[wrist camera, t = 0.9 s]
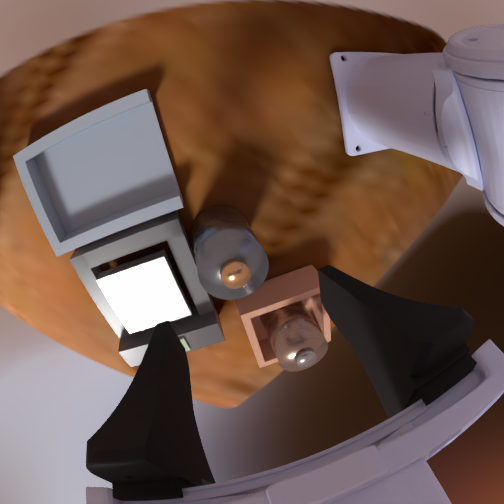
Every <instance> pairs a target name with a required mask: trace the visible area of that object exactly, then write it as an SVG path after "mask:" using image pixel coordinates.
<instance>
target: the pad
mask: <svg viewBox="0 0 504 504" xmlns="http://www.w3.org/2000/svg"><path fill="white" fill-rule="evenodd" d="M96 281H97V283H98V284H99V286H100V288H101V289H102V291H103V293H104V294H105V296H106V298H107V299H108V301H109V303H110V304H111V306H112V307H113V309H114V310H115V312H116V314H117V315H118V317H119V318H120V320H121V321H122V323H123V324H124V326H125V327H126V328H127V330H128V331H129V333H133V332H136V331H140V330H143V329H147V328H150V327H153V326H156V324H157V323H160V322H164V321H167V320H169V322H170V321H173V320H176V319H180V318H183V317H186V316H189V315H192V314H191V306H190V304H189V302H188V300H187V298H186V296H185V294H184V292H183V289H182V287H181V285H180V283H179V281H178V279H177V276H176V274H175V272H174V270H173V267H172V265H171V263H170V261H169V258H168V256H167V254H166V251H165V249H164V250H161V251H158V252H155V253H152V254H150V255H147V256H144V257H141V258H138V259H135V260H133V261H130V262H127V263H124V264H122V265H119V266H116V267H113V268H111V269H108V270H105V271H102V272H100V273H99V274H98V277H97V280H96Z"/></svg>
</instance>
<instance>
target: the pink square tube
mask: <svg viewBox="0 0 504 504" xmlns="http://www.w3.org/2000/svg"><path fill="white" fill-rule="evenodd" d="M235 300H236V303H237V306H238V309H239V312H240V315H241V318H242V321H243V324H244V326H245V329H246V332H247V335H248V337H249V340H250V343H251V346H252V348H253V351H254V354H255V356H256V359H257V362H258V364H259V367H260V368H261V367H264V366H267V365H270V364H273V363H275V362H278V359H277V357H276V355H275V352H274V350H273V348H272V345H271V343H270V341H269V338H268V336H267V334H266V331H265V329H264V327H263V324H262V322H261V319H260V315H262V314H265V313H267V312H270V311H273V310H276V309H279V308H281V307H284V306H287V305H290V304H292V303H295V302H298V301H300V300H302V302H303V304H304V305H305V307H306V308H307V310H308V312H309V313H310V315H311V316H312V318H313V319H314V321H315V323H316V324H317V326H318V327H319V329H320V331H321V332H322V334H323V335H324V337H325V339H326V340H327V342H329V341H331V335H330V334H331V333H330V317H329V315H328V314H327V312H326V310H325V308H324V306H323V304H322V303H321V298H320V287H319V277H318V271H317V270H316V269H315V268H314V266H313V265H312V264H311V265H308V266H306V267H303V268H300V269H297V270H294V271H292V272H289V273H286V274H283V275H280V276H277V277H275V278H272V279H269V280H266V281H264V282H263V283H262V285H261V286H260V287H259V288H258V289H257V290H256V291H254V292H253V293H251V294H250V295H248V296H245V297H243V298H239V299H235Z"/></svg>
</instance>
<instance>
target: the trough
mask: <svg viewBox="0 0 504 504" xmlns="http://www.w3.org/2000/svg"><path fill="white" fill-rule="evenodd" d="M13 158H14V161H15V164H16V167H17V170H18V172H19V175H20V178H21V180H22V183H23V186H24V188H25V191H26V193H27V195H28V198H29V200H30V203H31V205H32V207H33V210H34V212H35V214H36V216H37V218H38V221H39V223H40V225H41V227H42V229H43V231H44V233H45V235H46V237H47V239H48V241H49V243H50V245H51V247H52V249H53V251H54V252H55V254H56V256H57V257H58V256H60V255H62V254H65V253H67V252H69V251H71V250H74V249H76V248H79V247H81V246H83V245H86V244H88V243H91V242H93V241H95V240H98V239H100V238H103V237H105V236H108V235H110V234H113V233H115V232H118V231H121V230H123V229H126V228H128V227H131V226H134V225H136V224H139V223H142V222H144V221H147V220H150V219H153V218H155V217H158V216H161V215H164V214H167V213H169V212H172V211H175V210H178V209H181V208H184V206H183V197H182V194H181V191H180V188H179V185H178V182H177V179H176V176H175V173H174V170H173V167H172V164H171V161H170V158H169V155H168V151H167V148H166V145H165V142H164V139H163V135H162V132H161V129H160V125H159V122H158V119H157V115H156V112H155V108H154V105H153V102H152V98H151V94H150V91H149V90H147V89H144V90H141V91H139V92H136V93H133V94H131V95H128V96H126V97H123V98H121V99H118V100H116V101H113V102H111V103H109V104H106V105H104V106H102V107H100V108H98V109H95V110H93V111H91V112H89V113H87V114H85V115H83V116H81V117H79V118H77V119H75V120H73V121H71V122H69V123H67V124H65V125H63V126H62V127H60V128H58V129H56V130H54V131H53V132H51V133H49V134H47V135H46V136H44V137H42V138H41V139H39V140H37V141H36V142H34V143H32V144H31V145H29V146H28V147H26V148H25V149H23V150H22V151H20V152H19V153H17V154H16V155H14V156H13Z"/></svg>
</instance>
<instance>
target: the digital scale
mask: <svg viewBox="0 0 504 504" xmlns="http://www.w3.org/2000/svg"><path fill="white" fill-rule="evenodd" d="M164 241H167V242H168V244H169V247H170V249H171V252H172V254H173V256H174V259H175V261H176V263H177V266H178V268H179V270H180V273H181V275H182V277H183V279H184V282H185V284H186V286H187V288H188V291H189V293H190V295H191V297H192V299H193V301H194V305H191V314H192V315H189V316H186V317H183V318H180V319H176V320H173V321H170V324H171V326H172V327H173V329H174V331H175V332H176V334H177V336H178V338H179V339H180V341H181V343H182V344H183V346H184V348H185V351H186V352H189V351H192V350H195V349H199V348H202V347H205V346H209V345H212V344H215V343H218V342H221V341H225V338H224V334H223V330H222V326H221V322H220V318H219V315H218V312H217V310H216V308H215V305H214V303H213V301H212V298H211V296H210V294H209V293H208V292H206V291H205V290H204V288H203V287H202V286H201V284H200V281H199V278H198V272H197V265H196V259H195V255H194V253H193V250H192V248H191V245H190V242H189V240H188V237H187V234H186V232H185V229H184V226H183V224H182V221H181V218H180V215H179V213H178V211H175V212H172V213H169V214H166V215H163V216H161V217H158V218H155V219H152V220H149V221H147V222H144V223H141V224H139V225H136V226H133V227H131V228H128V229H125V230H123V231H120V232H118V233H115V234H112V235H110V236H107V237H105V238H102V239H100V240H97V241H95V242H92V243H90V244H88V245H85V246H83V247H80V248H78V249H76V250H75V251H74V253H73V254H72V256H71V258H70V262H71V263H72V265H73V267H74V269H75V270H76V272H77V274H78V276H79V277H80V279H81V281H82V282H83V284H84V286H85V287H86V289H87V291H88V292H89V294H90V295H91V297H92V299H93V300H94V302H95V303H96V305H97V306H98V308H99V309H100V311H101V312H102V314H103V315H104V317H105V318H106V320H107V321H108V323H109V324H110V326H111V327H112V328H113V330H114V331H115V333H116V334H117V335H118V337H119V338H120V344H119V353H120V355H121V356H122V357H123V358H124V360H125V361H126V362H127V363H128V364H129V366H130V367H133V366H137V365H140V364H141V362H142V359H143V357H144V354H145V352H146V349H147V347H148V344H149V341H150V339H151V336H152V333H153V331H154V328H155V326H153V327H150V328H147V329H143V330H140V331H136V332H133V333H129V331H128V330H127V328H126V327H125V326H124V324H123V323H122V321H121V320H120V318H119V317H118V315H117V314H116V312H115V310H114V309H113V307H112V306H111V304H110V303H109V301H108V299H107V298H106V296H105V294H104V293H103V291H102V289H101V288H100V286H99V284H98V283H97V281H96V280H97V277H98V274H99V273H100V272H102V270H101V268H100V267H99V265H101V264H104V263H106V262H109V261H112V260H114V259H117V258H120V257H122V256H125V255H128V254H131V253H133V252H136V251H139V250H142V249H145V248H147V247H150V246H153V245H156V244H159V243H161V242H164Z"/></svg>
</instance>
